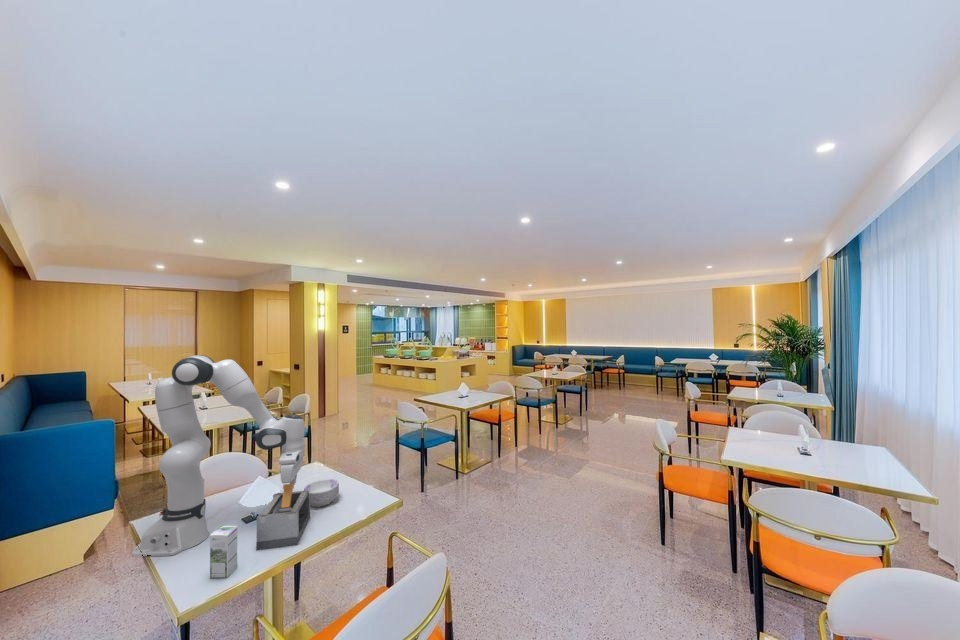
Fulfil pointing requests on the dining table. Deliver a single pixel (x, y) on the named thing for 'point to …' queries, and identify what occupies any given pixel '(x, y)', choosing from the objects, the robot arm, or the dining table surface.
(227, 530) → the syrup box
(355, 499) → the dining table surface
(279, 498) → the grey storage bin
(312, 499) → the paper bowls
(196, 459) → the robot arm
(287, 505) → the lever
